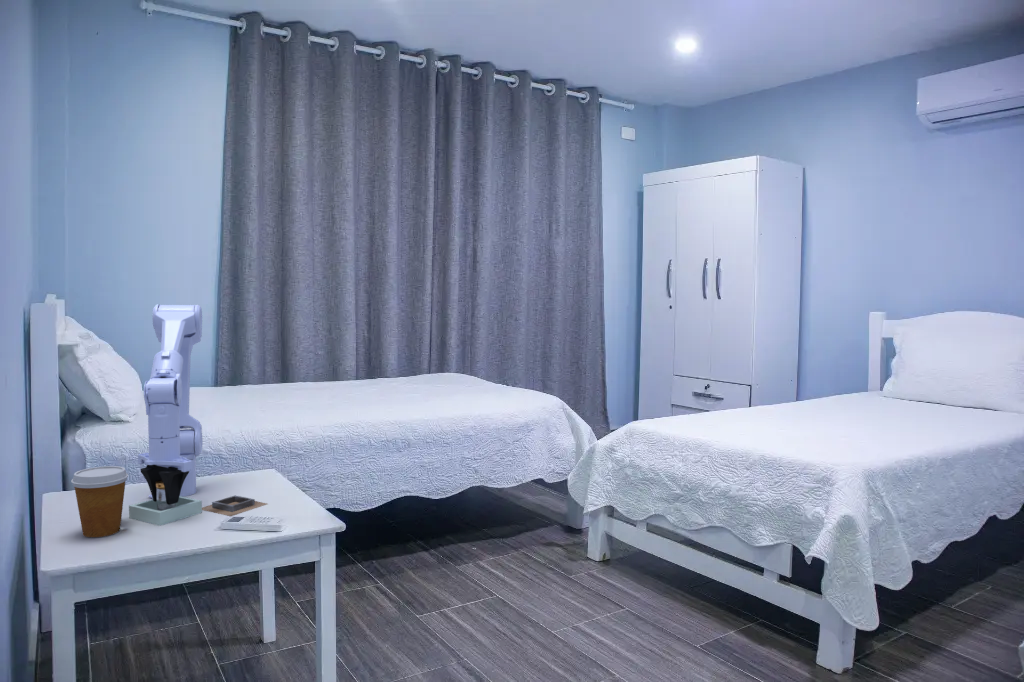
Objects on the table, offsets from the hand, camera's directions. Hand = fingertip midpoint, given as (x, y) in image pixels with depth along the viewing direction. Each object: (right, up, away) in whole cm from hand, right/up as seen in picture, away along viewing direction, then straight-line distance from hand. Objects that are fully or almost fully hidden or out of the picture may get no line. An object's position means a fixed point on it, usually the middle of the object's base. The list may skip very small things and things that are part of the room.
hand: (165, 501), depth 145 cm
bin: (0, -4, 0) cm, 4 cm away
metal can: (0, -2, 0) cm, 2 cm away
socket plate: (+11, -3, +7) cm, 14 cm away
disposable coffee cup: (-9, -4, -8) cm, 12 cm away
